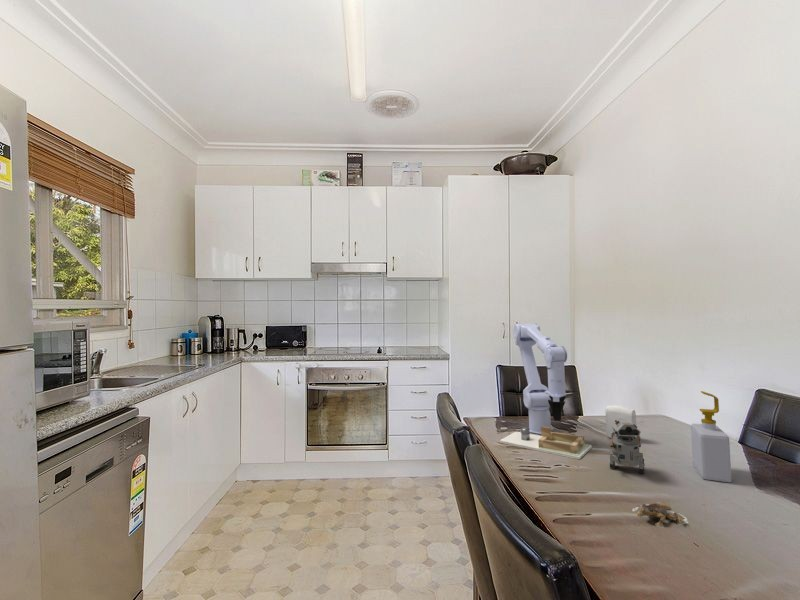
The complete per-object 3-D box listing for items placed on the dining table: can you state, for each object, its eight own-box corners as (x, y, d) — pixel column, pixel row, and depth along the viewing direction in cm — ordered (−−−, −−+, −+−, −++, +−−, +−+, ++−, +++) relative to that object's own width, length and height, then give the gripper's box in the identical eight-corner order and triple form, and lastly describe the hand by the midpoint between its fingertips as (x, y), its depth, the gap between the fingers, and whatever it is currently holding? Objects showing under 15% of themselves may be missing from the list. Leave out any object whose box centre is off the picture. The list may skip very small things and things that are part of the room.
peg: (523, 437, 149) (523, 426, 149) (531, 439, 147) (530, 428, 147) (520, 439, 147) (519, 428, 147) (527, 441, 145) (527, 430, 145)
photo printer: (604, 437, 149) (603, 404, 150) (609, 435, 152) (608, 402, 153) (634, 444, 141) (632, 409, 142) (639, 441, 144) (637, 407, 145)
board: (515, 433, 157) (515, 431, 157) (591, 447, 139) (591, 445, 139) (499, 442, 146) (499, 440, 146) (579, 459, 128) (579, 456, 128)
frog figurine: (668, 538, 84) (667, 520, 84) (619, 512, 95) (618, 496, 95) (704, 527, 88) (703, 509, 88) (653, 503, 99) (652, 487, 99)
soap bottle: (692, 464, 122) (688, 387, 123) (719, 467, 119) (715, 388, 120) (702, 479, 111) (698, 395, 112) (732, 483, 108) (728, 397, 109)
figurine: (608, 476, 115) (606, 423, 115) (610, 462, 125) (608, 414, 125) (645, 482, 110) (643, 427, 111) (644, 468, 120) (642, 417, 120)
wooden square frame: (547, 437, 148) (546, 422, 148) (584, 443, 140) (583, 428, 140) (536, 446, 138) (535, 430, 138) (575, 453, 130) (574, 436, 130)
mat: (552, 438, 147) (552, 438, 147) (589, 445, 139) (589, 444, 139) (538, 448, 137) (538, 447, 137) (578, 456, 129) (578, 455, 129)
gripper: (545, 376, 152) (547, 412, 152) (543, 382, 139) (544, 422, 139) (565, 377, 149) (567, 413, 149) (565, 383, 136) (566, 423, 136)
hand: (557, 417), depth 144 cm, fingers open, 7 cm apart
